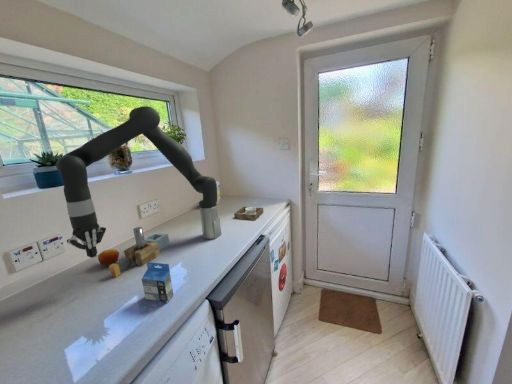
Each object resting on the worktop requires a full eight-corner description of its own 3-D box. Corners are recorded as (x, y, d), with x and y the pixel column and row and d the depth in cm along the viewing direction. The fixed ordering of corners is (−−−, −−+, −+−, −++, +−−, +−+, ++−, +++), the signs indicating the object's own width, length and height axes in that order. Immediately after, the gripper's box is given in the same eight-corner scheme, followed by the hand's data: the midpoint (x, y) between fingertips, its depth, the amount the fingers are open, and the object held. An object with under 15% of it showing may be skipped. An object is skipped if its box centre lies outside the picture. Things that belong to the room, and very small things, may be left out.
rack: (169, 243, 120) (168, 234, 118) (156, 252, 112) (154, 241, 110) (156, 241, 123) (154, 232, 122) (142, 249, 115) (140, 239, 114)
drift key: (133, 266, 99) (131, 257, 98) (116, 277, 92) (113, 267, 91) (128, 265, 100) (126, 256, 99) (111, 276, 93) (108, 265, 92)
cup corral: (263, 212, 159) (263, 207, 158) (255, 220, 146) (255, 215, 145) (243, 211, 165) (243, 206, 164) (234, 218, 151) (234, 213, 150)
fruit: (97, 269, 96) (95, 251, 98) (101, 270, 103) (99, 253, 105) (119, 264, 100) (116, 246, 102) (121, 265, 107) (119, 248, 109)
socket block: (159, 254, 109) (157, 243, 107) (142, 265, 100) (140, 253, 98) (144, 251, 113) (142, 240, 111) (126, 262, 104) (123, 250, 102)
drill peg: (149, 257, 107) (143, 227, 104) (143, 261, 104) (137, 230, 100) (143, 256, 109) (138, 226, 105) (137, 259, 105) (131, 229, 102)
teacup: (251, 211, 163) (250, 205, 162) (261, 214, 156) (260, 208, 155) (240, 215, 156) (240, 209, 155) (250, 218, 150) (250, 211, 148)
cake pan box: (212, 208, 175) (210, 186, 171) (206, 208, 176) (204, 186, 172) (221, 201, 193) (219, 181, 189) (215, 201, 194) (213, 181, 190)
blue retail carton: (144, 300, 78) (138, 268, 75) (152, 292, 82) (146, 261, 79) (167, 303, 76) (162, 270, 73) (174, 295, 80) (169, 263, 77)
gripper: (68, 219, 73) (80, 267, 77) (107, 207, 85) (116, 249, 89) (54, 217, 76) (66, 264, 80) (93, 206, 88) (103, 247, 92)
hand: (93, 256), depth 85 cm, fingers closed
